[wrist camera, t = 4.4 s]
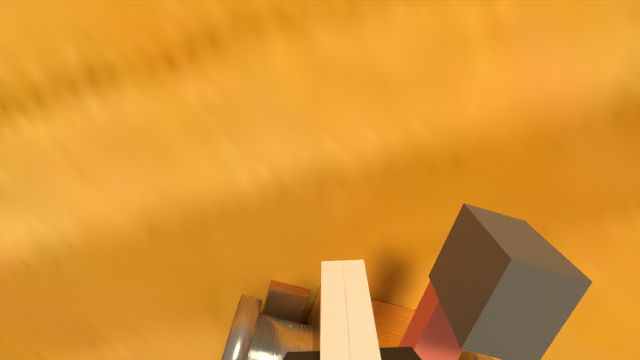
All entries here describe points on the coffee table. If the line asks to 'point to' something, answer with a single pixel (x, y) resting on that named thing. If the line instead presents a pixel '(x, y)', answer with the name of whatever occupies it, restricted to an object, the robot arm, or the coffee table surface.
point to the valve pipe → (302, 325)
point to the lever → (494, 292)
